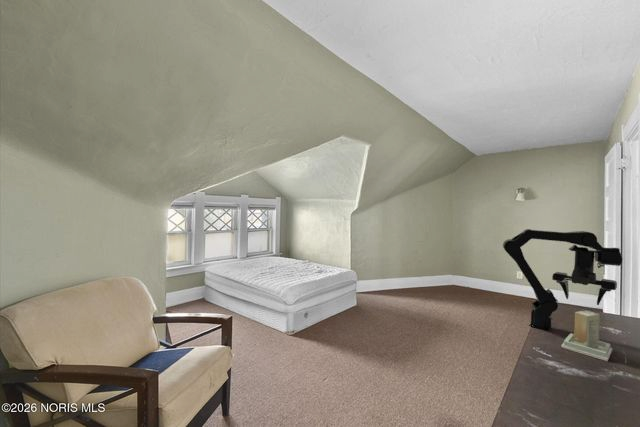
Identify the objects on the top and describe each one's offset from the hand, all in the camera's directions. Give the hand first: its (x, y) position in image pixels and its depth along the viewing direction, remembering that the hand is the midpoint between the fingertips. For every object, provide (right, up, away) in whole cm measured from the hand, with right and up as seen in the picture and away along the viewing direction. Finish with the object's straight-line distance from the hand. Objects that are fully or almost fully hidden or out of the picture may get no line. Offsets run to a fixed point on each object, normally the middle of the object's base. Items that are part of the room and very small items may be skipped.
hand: (582, 301), depth 118 cm
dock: (-9, -13, -12) cm, 20 cm away
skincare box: (-9, -13, -12) cm, 20 cm away
